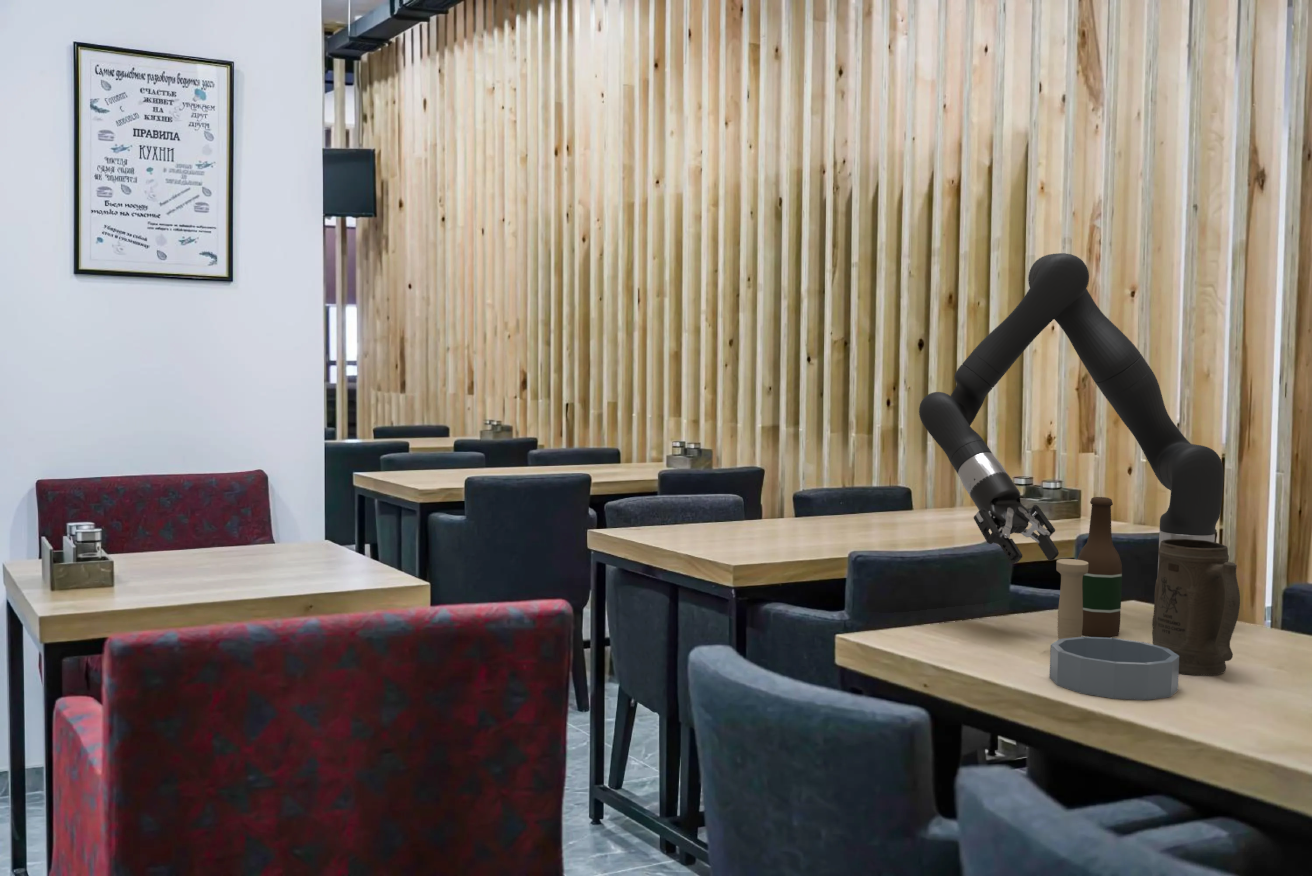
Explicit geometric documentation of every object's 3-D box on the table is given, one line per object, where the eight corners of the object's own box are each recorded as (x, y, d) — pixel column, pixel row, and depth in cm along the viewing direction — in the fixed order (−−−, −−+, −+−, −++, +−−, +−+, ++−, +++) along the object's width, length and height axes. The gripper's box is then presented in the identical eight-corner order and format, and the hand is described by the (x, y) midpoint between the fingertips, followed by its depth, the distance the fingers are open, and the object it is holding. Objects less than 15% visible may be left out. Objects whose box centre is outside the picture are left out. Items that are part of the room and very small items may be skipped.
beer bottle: (1124, 632, 210) (1129, 497, 209) (1114, 640, 204) (1120, 501, 202) (1078, 626, 214) (1083, 494, 213) (1068, 634, 208) (1073, 497, 206)
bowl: (1111, 665, 186) (1112, 633, 185) (1202, 692, 170) (1203, 658, 170) (1026, 675, 179) (1028, 642, 178) (1113, 704, 163) (1115, 668, 163)
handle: (1084, 650, 195) (1087, 560, 195) (1085, 659, 189) (1089, 565, 189) (1053, 648, 197) (1056, 558, 196) (1053, 656, 191) (1057, 563, 190)
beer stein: (1131, 660, 189) (1143, 537, 186) (1181, 655, 193) (1193, 534, 191) (1210, 691, 175) (1224, 558, 172) (1263, 685, 179) (1277, 555, 177)
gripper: (970, 471, 202) (1018, 547, 193) (1029, 469, 209) (1079, 543, 200) (946, 499, 207) (993, 575, 198) (1006, 496, 214) (1053, 569, 205)
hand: (1036, 558), depth 199 cm, fingers open, 8 cm apart
